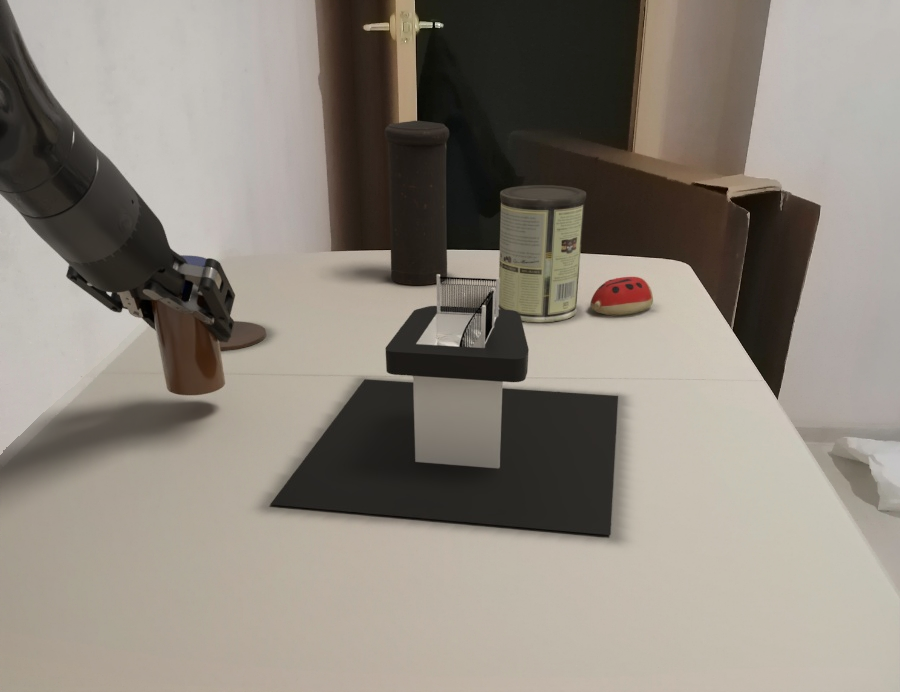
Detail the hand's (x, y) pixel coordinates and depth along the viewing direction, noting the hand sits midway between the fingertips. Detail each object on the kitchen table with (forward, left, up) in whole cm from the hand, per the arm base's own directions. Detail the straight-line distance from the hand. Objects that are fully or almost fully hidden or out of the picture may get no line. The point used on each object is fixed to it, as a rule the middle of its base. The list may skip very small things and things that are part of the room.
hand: (197, 329), depth 79 cm
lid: (0, -2, +6) cm, 6 cm away
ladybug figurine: (+43, +37, -7) cm, 57 cm away
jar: (0, -2, -5) cm, 5 cm away
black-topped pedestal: (+26, -7, -7) cm, 28 cm away
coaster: (-5, +21, -7) cm, 23 cm away
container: (+15, +50, -7) cm, 52 cm away
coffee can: (+32, +35, -7) cm, 48 cm away
